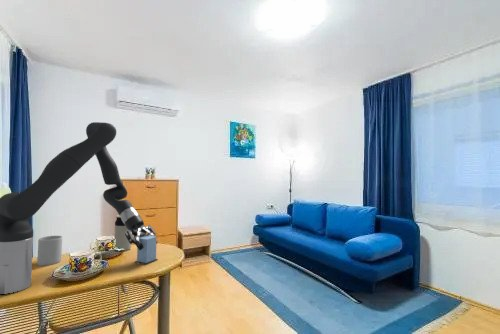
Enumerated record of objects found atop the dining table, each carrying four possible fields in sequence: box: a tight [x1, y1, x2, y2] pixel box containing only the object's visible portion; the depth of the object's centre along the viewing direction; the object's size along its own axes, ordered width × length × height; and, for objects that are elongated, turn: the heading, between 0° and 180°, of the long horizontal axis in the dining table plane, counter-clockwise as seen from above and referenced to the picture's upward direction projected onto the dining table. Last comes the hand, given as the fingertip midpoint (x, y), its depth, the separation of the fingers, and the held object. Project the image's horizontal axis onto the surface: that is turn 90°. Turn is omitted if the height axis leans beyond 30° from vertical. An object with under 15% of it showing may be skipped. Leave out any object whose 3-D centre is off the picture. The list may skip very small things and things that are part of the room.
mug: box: [36, 235, 63, 267], centre depth 113 cm, size 12×8×11 cm
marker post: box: [134, 258, 159, 266], centre depth 116 cm, size 7×7×7 cm
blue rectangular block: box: [136, 235, 158, 263], centre depth 116 cm, size 6×6×11 cm
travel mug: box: [114, 214, 132, 251], centre depth 133 cm, size 8×8×18 cm
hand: (149, 246), depth 115 cm, fingers open, 8 cm apart
